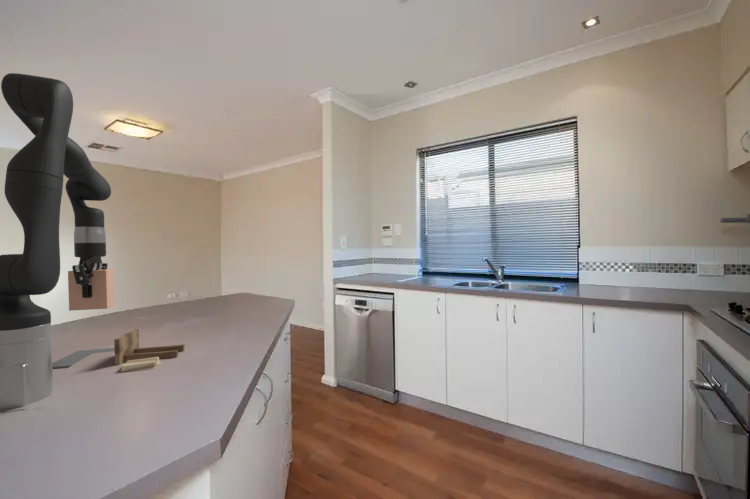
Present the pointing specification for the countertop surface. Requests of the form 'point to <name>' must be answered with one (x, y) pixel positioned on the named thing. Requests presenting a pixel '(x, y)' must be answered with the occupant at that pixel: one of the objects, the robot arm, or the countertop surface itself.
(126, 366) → the offcut upper
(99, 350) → the mat
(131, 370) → the cream folded flat block
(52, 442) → the countertop surface
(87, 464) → the countertop surface
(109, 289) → the salmon pink block
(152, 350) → the rack
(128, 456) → the countertop surface
